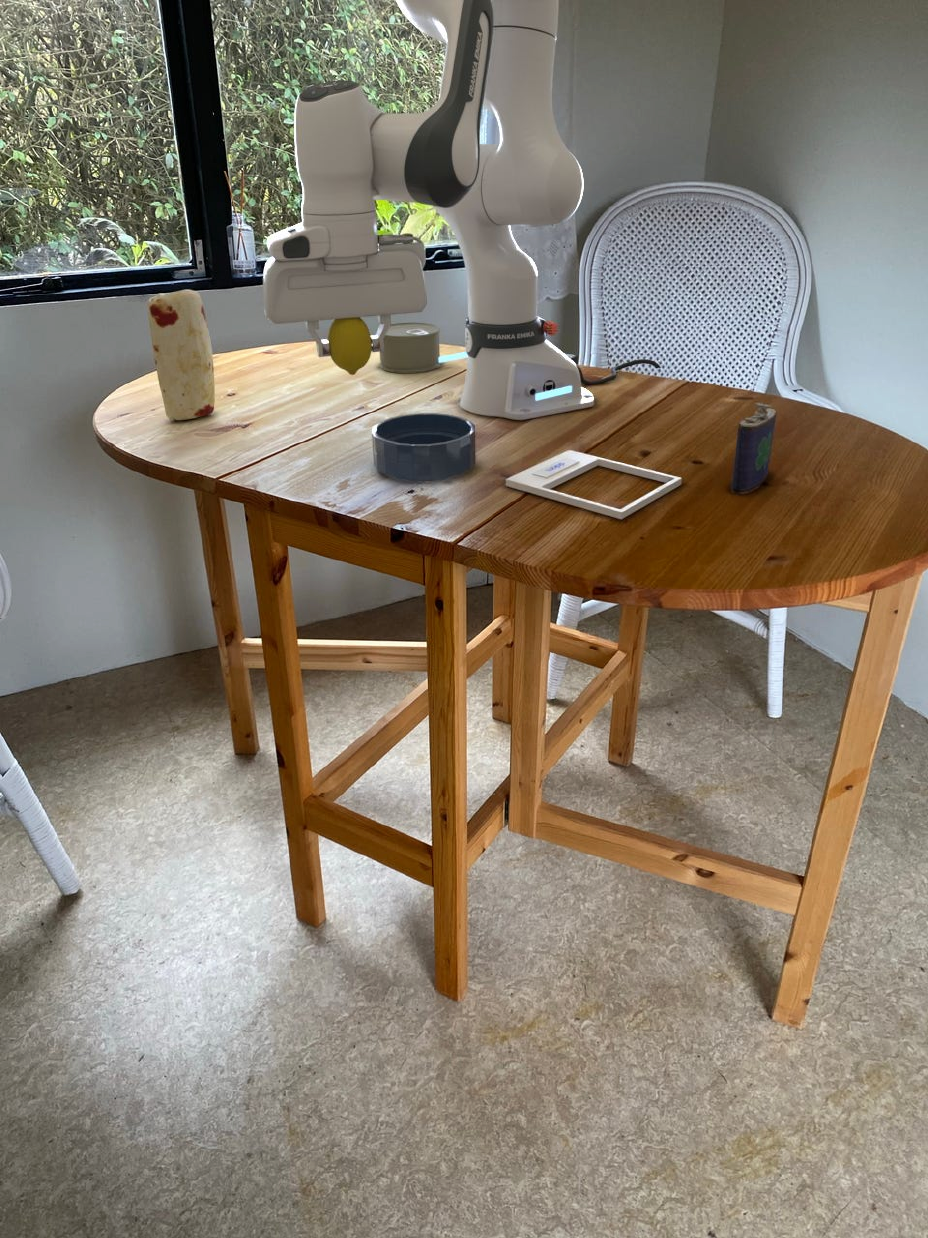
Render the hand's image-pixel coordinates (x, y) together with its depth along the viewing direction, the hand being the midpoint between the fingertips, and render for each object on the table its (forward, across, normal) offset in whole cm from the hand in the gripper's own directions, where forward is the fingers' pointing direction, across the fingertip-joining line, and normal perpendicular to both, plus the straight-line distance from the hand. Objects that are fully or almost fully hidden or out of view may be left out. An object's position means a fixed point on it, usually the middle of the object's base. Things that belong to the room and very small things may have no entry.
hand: (350, 353), depth 117 cm
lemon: (+3, 0, 0) cm, 3 cm away
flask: (+17, -49, +19) cm, 55 cm away
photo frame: (+17, -29, +13) cm, 36 cm away
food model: (+17, +21, -37) cm, 46 cm away
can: (+17, -21, -57) cm, 63 cm away
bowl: (+17, -10, -2) cm, 20 cm away
